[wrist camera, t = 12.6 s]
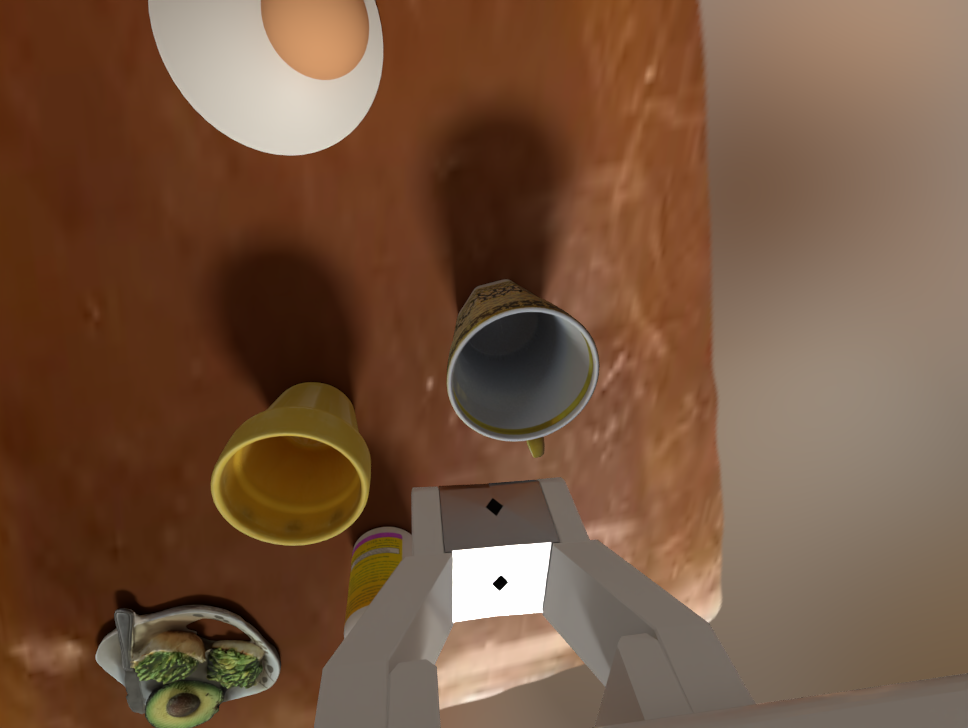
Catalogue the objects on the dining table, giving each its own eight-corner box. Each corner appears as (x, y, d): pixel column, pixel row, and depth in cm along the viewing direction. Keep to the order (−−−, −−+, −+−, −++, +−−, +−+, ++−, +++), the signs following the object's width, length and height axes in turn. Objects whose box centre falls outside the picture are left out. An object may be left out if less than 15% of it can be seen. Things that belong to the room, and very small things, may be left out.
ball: (302, 74, 24) (384, 94, 29) (305, -67, 22) (395, -22, 26) (240, 62, 27) (324, 82, 31) (237, -65, 25) (329, -24, 29)
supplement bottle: (339, 547, 50) (320, 677, 39) (388, 513, 48) (382, 637, 37) (384, 577, 53) (378, 706, 42) (431, 546, 51) (438, 670, 40)
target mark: (183, 152, 31) (182, 153, 31) (117, -122, 25) (115, -124, 25) (389, 157, 33) (389, 157, 33) (375, -99, 27) (375, -100, 27)
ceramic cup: (423, 276, 37) (428, 330, 29) (549, 244, 38) (592, 289, 29) (462, 410, 44) (476, 488, 35) (569, 383, 44) (609, 453, 35)
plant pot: (245, 355, 38) (200, 429, 30) (379, 364, 40) (372, 435, 32) (254, 459, 43) (216, 547, 35) (373, 462, 45) (365, 547, 37)
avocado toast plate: (49, 615, 49) (18, 661, 45) (221, 568, 49) (205, 610, 45) (156, 708, 59) (138, 753, 55) (299, 669, 59) (291, 710, 55)
